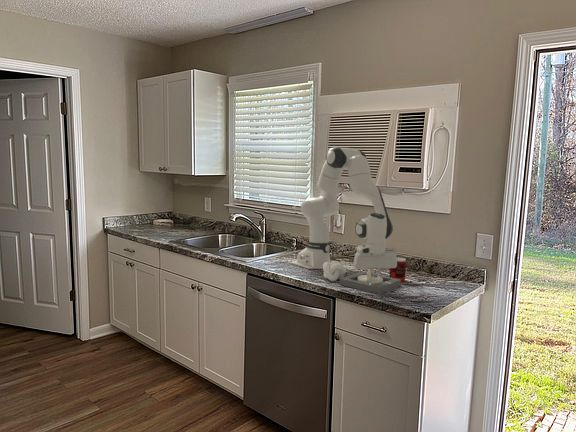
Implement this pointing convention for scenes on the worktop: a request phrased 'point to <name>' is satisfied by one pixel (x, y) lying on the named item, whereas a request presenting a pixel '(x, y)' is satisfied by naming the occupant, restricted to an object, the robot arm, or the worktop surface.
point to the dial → (370, 279)
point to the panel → (380, 288)
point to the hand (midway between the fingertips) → (374, 277)
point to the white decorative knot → (333, 270)
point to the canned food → (399, 270)
